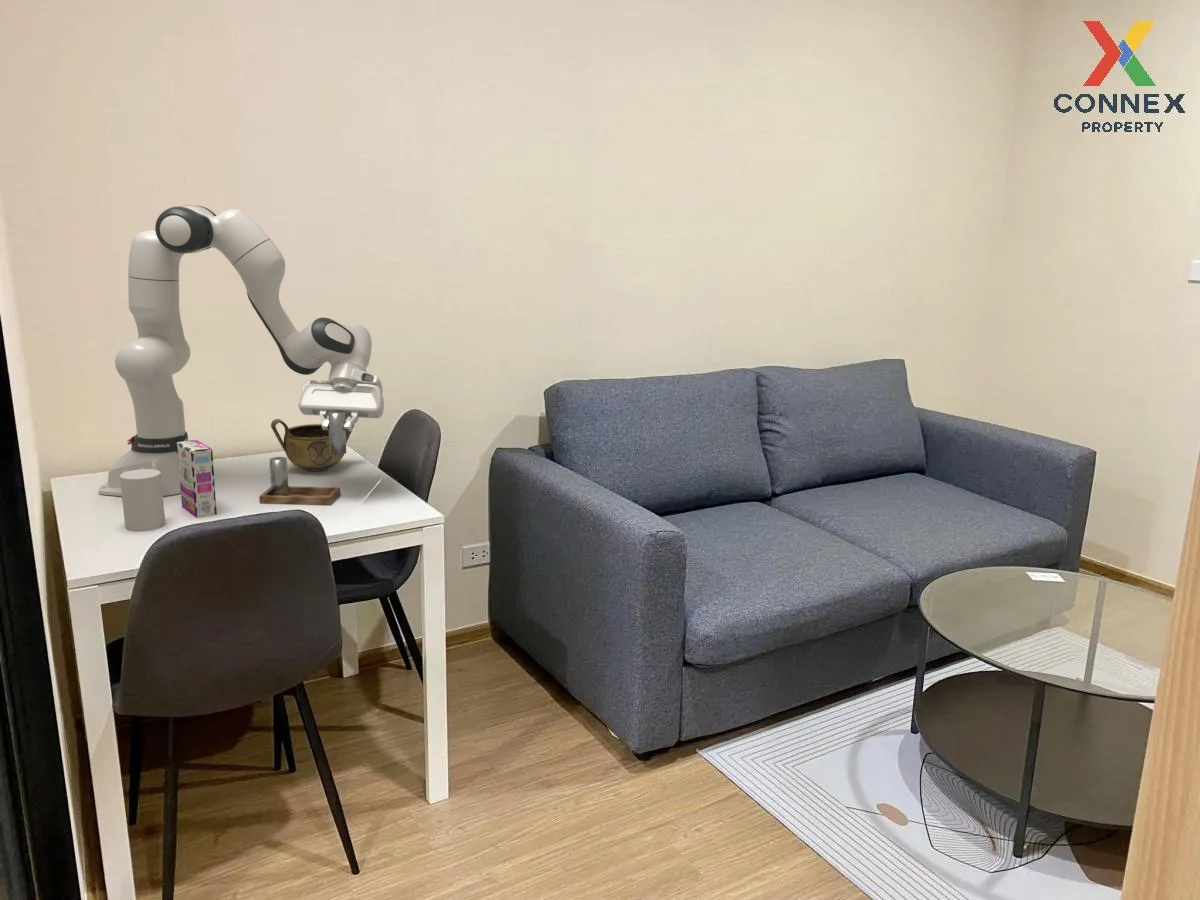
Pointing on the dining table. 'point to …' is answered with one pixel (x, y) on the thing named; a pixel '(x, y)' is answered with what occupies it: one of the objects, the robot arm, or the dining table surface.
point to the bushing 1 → (279, 476)
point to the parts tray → (303, 496)
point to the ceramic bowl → (308, 446)
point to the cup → (142, 499)
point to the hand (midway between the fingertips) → (336, 429)
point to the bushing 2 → (337, 432)
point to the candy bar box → (197, 478)
